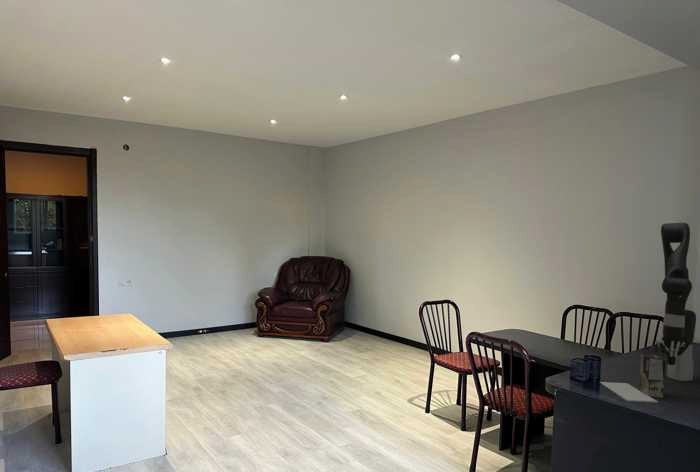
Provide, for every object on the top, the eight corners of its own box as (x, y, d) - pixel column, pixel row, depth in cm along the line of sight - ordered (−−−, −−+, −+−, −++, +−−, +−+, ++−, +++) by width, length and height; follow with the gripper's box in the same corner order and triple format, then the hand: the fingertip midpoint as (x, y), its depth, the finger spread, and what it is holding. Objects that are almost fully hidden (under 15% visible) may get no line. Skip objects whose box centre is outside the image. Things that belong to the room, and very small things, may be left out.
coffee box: (663, 398, 201) (666, 360, 200) (647, 396, 202) (649, 358, 202) (654, 390, 210) (657, 354, 209) (638, 389, 211) (641, 352, 211)
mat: (627, 384, 217) (627, 383, 217) (657, 402, 195) (657, 401, 195) (599, 383, 217) (599, 381, 217) (627, 401, 195) (627, 400, 195)
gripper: (683, 323, 209) (680, 363, 209) (652, 321, 209) (650, 361, 209) (695, 327, 201) (692, 368, 202) (663, 325, 202) (660, 366, 202)
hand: (670, 364), depth 206 cm, fingers closed
